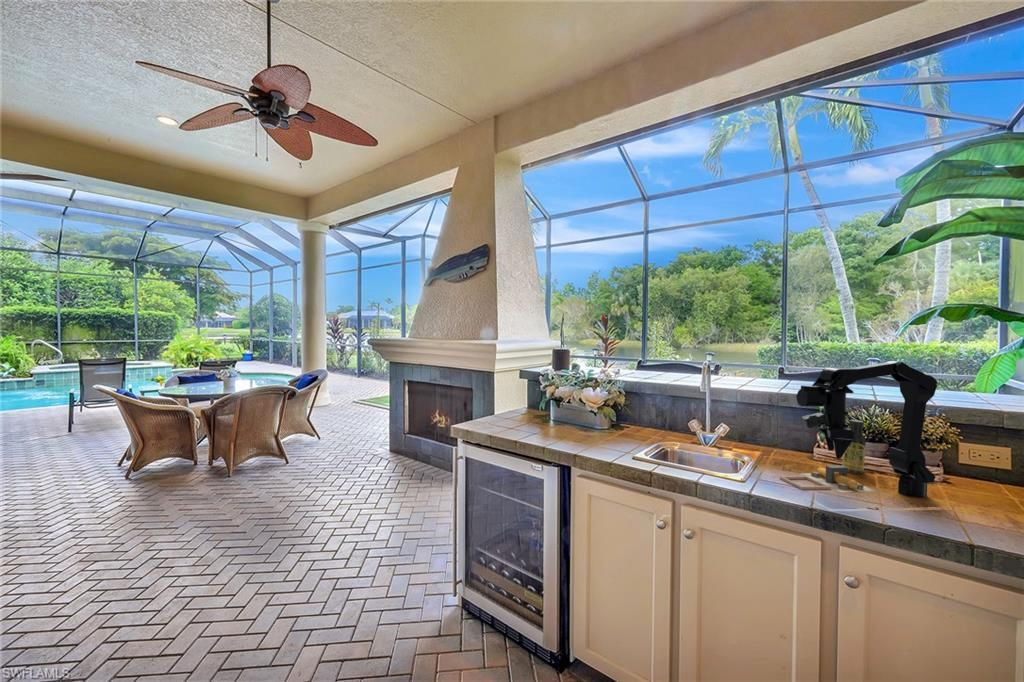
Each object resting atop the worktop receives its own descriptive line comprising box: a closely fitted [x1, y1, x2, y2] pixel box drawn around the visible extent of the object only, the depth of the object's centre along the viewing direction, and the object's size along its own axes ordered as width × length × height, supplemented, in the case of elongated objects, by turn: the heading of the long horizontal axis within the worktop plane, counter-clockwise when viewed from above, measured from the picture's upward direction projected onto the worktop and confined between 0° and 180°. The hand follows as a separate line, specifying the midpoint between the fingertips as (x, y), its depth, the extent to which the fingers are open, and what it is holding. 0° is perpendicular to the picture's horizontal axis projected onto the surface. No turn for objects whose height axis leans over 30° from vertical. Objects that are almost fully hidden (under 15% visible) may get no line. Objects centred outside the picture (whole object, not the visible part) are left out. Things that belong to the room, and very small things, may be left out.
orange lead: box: [816, 467, 859, 489], centre depth 140 cm, size 15×3×3 cm, turn 4°
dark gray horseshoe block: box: [825, 464, 849, 484], centre depth 140 cm, size 6×2×5 cm, turn 94°
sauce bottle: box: [841, 419, 867, 474], centre depth 152 cm, size 7×6×20 cm
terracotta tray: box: [779, 475, 832, 491], centre depth 138 cm, size 10×10×2 cm
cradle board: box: [800, 471, 878, 493], centre depth 140 cm, size 17×13×2 cm
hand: (834, 454), depth 132 cm, fingers open, 9 cm apart
